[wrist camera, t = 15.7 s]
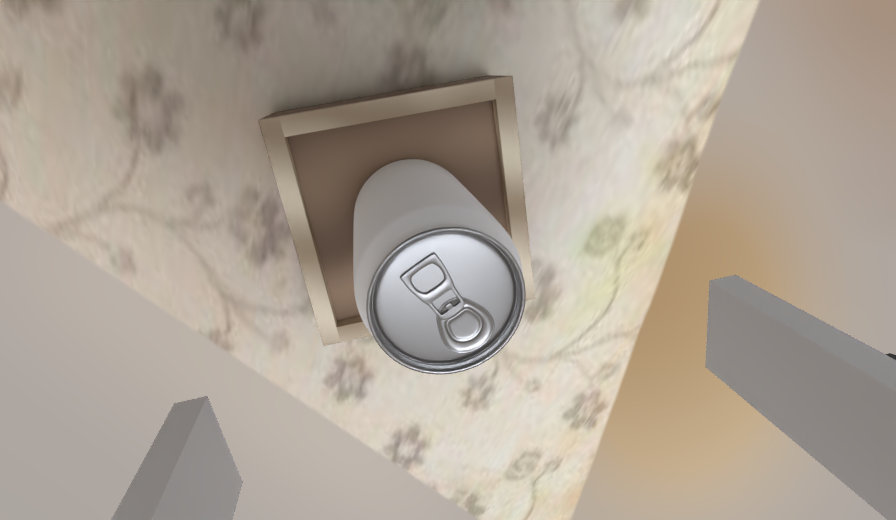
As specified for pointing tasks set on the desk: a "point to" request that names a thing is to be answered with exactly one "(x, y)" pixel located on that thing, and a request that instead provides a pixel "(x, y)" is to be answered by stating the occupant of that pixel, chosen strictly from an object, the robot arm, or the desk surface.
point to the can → (433, 270)
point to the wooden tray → (376, 145)
